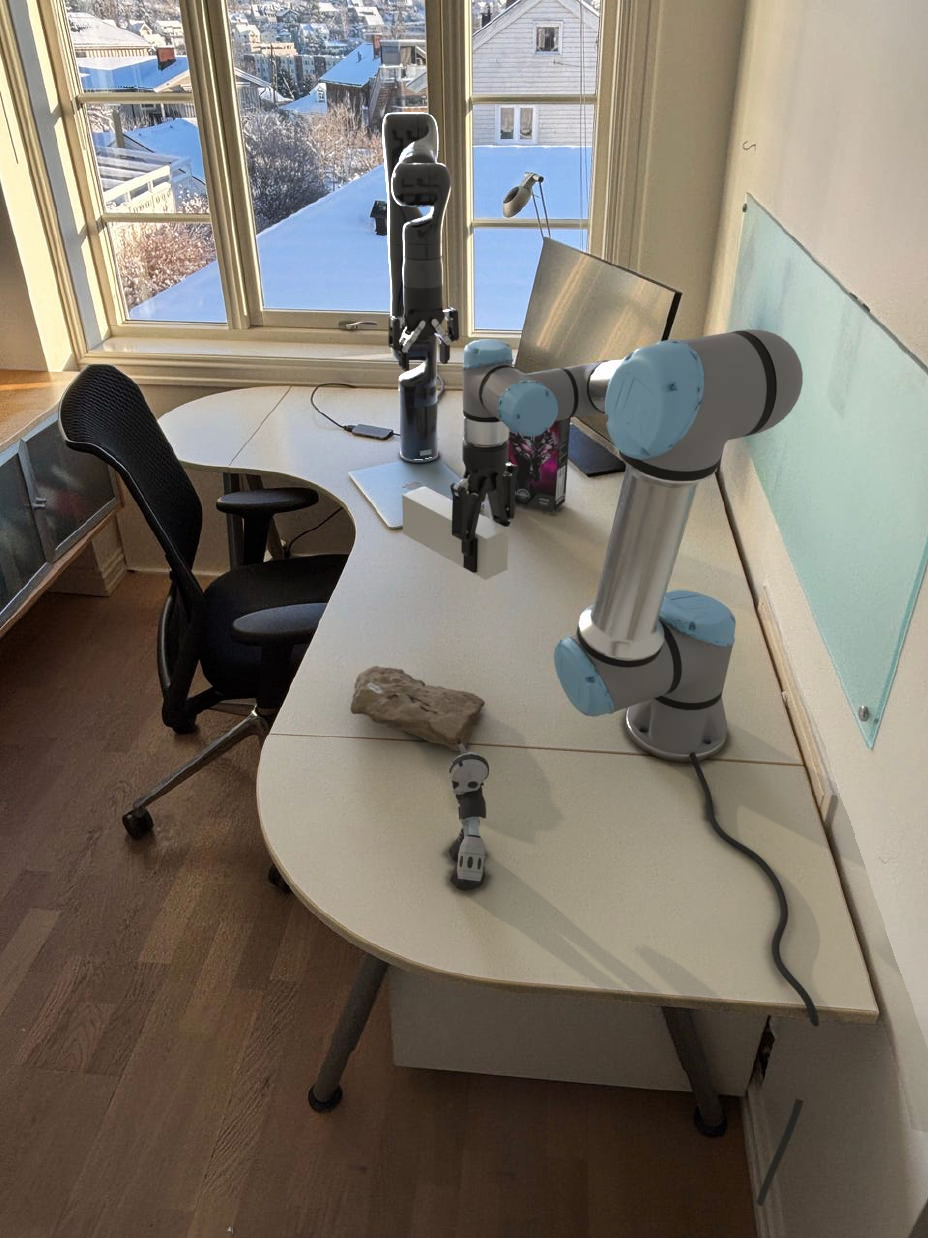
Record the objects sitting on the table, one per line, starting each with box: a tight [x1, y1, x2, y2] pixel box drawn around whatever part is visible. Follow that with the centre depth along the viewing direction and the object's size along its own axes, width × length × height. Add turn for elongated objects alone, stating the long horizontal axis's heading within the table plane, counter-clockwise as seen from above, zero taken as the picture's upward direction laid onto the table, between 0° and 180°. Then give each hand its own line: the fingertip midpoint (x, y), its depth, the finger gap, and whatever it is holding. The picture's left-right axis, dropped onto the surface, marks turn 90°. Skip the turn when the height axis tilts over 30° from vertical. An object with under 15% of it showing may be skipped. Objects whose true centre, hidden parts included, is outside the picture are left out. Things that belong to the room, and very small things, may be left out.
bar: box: [401, 485, 510, 581], centre depth 164 cm, size 22×5×8 cm, turn 43°
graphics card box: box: [508, 418, 571, 513], centre depth 201 cm, size 17×7×27 cm, turn 62°
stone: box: [349, 665, 486, 752], centre depth 143 cm, size 21×15×6 cm
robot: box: [448, 739, 490, 891], centre depth 115 cm, size 20×5×20 cm, turn 3°
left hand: (424, 366), depth 181 cm, fingers open, 8 cm apart
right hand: (482, 563), depth 161 cm, fingers closed on bar, 5 cm apart
